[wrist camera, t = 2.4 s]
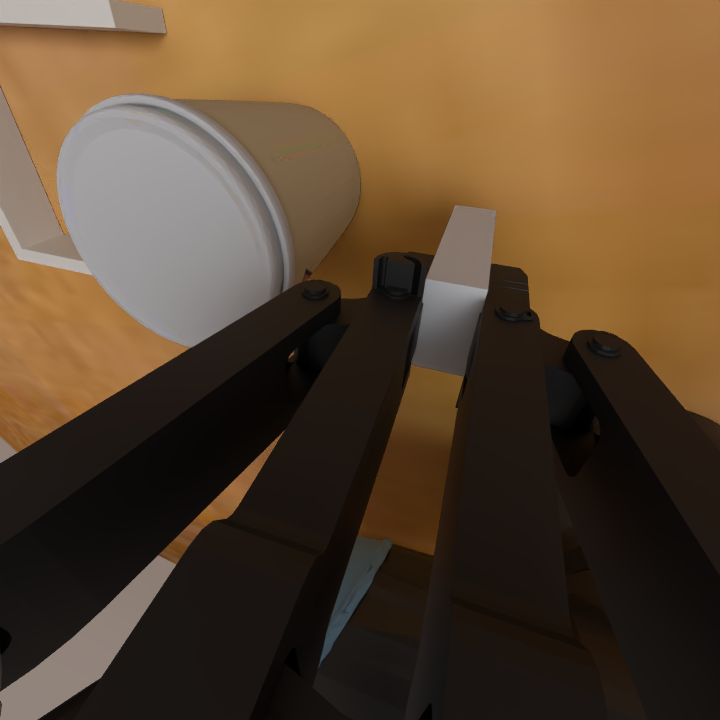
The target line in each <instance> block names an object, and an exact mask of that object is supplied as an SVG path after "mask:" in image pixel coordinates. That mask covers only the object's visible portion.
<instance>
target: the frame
mask: <svg viewBox="0 0 720 720" xmlns="http://www.w3.org/2000/svg"><path fill="white" fill-rule="evenodd" d="M0 26H19V27H40V28H60V29H81V30H102V31H122V32H143V33H164V34H167V33H166V28H165V23H164V18H163V13H162V9H161V8H156V7H150V6H145V5H139V4H134V3H128V2H123V1H117V0H0ZM0 225H1V227H2V229H3V231H4V233H5V235H6V237H7V239H8V241H9V243H10V244H11V246H12V248H13V250H14V252H15V254H16V256H17V258H18V259H19V260H24V261H29V262H33V263H38V264H43V265H48V266H52V267H57V268H62V269H66V270H71V271H76V272H80V273H85V274H90V275H92V273H91V272H90V270H89V269H88V267H87V266H86V264H85V263H84V261H83V259H82V258H81V256H80V254H79V253H78V251H77V249H76V247H75V245H74V243H73V241H72V239H71V236H70V235H67V234H63V232H62V230H61V227H60V225H59V223H58V220H57V218H56V216H55V213H54V211H53V209H52V206H51V204H50V202H49V199H48V197H47V195H46V192H45V190H44V188H43V185H42V183H41V181H40V178H39V176H38V174H37V171H36V169H35V167H34V164H33V162H32V160H31V157H30V155H29V153H28V150H27V148H26V146H25V143H24V141H23V139H22V136H21V134H20V132H19V129H18V127H17V125H16V122H15V120H14V118H13V115H12V113H11V111H10V108H9V106H8V104H7V101H6V99H5V97H4V94H3V92H2V90H1V87H0Z"/></svg>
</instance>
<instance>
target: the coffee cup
mask: <svg viewBox="0 0 720 720" xmlns="http://www.w3.org/2000/svg"><path fill="white" fill-rule="evenodd" d="M57 191H58V197H59V202H60V207H61V211H62V215H63V218H64V221H65V224H66V227H67V229H68V232H69V234H70V236H71V239H72V241H73V243H74V245H75V247H76V249H77V251H78V253H79V254H80V256H81V258H82V259H83V261H84V263H85V264H86V266H87V267H88V269H89V270H90V272H91V273H92V275H93V276H94V277H95V279H96V280H97V281H98V283H99V284H100V285H101V286H102V288H103V289H104V290H105V291H106V292H107V293H108V295H109V296H110V297H111V298H112V299H113V300H114V301H115V302H116V303H117V304H118V305H119V306H120V307H121V308H122V309H123V310H125V311H126V312H127V313H128V314H129V315H130V316H132V317H133V318H134V319H135V320H137V321H138V322H139V323H141V324H142V325H144V326H145V327H147V328H148V329H150V330H151V331H153V332H155V333H157V334H158V335H160V336H162V337H164V338H166V339H168V340H170V341H173V342H175V343H178V344H181V345H184V346H187V347H191V348H192V347H193V346H195V345H197V344H198V343H200V342H202V341H203V340H205V339H207V338H208V337H210V336H212V335H213V334H215V333H217V332H218V331H220V330H222V329H223V328H225V327H226V326H228V325H230V324H231V323H233V322H235V321H236V320H238V319H240V318H241V317H243V316H245V315H246V314H248V313H250V312H251V311H253V310H255V309H256V308H258V307H260V306H261V305H263V304H264V303H266V302H268V301H269V300H271V299H273V298H274V297H276V296H278V295H279V294H281V293H283V292H284V291H286V290H288V289H289V288H291V287H293V286H294V285H296V284H299V283H301V282H305V281H307V279H308V278H309V277H310V275H311V274H312V273H313V272H314V270H315V269H316V268H317V266H318V265H319V264H320V263H321V261H322V260H323V259H324V257H325V256H326V255H327V253H328V252H329V251H330V249H331V248H332V247H333V246H334V244H335V243H336V242H337V240H338V239H339V238H340V236H341V235H342V234H343V232H344V231H345V229H346V228H347V227H348V225H349V224H350V222H351V220H352V218H353V217H354V214H355V212H356V209H357V206H358V202H359V198H360V173H359V167H358V163H357V159H356V156H355V154H354V151H353V149H352V147H351V145H350V143H349V141H348V140H347V138H346V136H345V135H344V134H343V132H342V131H341V130H340V129H339V127H338V126H337V125H336V124H335V123H334V122H333V121H332V120H331V119H329V118H328V117H327V116H325V115H324V114H322V113H321V112H319V111H317V110H315V109H313V108H310V107H307V106H303V105H298V104H290V103H274V102H252V101H225V100H193V99H170V98H167V97H164V96H157V95H150V94H125V95H119V96H114V97H111V98H109V99H106V100H103V101H101V102H99V103H98V104H96V105H94V106H93V107H91V108H90V109H89V110H88V111H87V112H86V113H85V114H84V115H83V116H82V117H81V119H80V120H79V121H78V122H77V123H76V124H75V125H74V126H73V127H72V129H71V130H70V131H69V133H68V134H67V135H66V138H65V140H64V142H63V144H62V146H61V150H60V154H59V159H58V164H57Z"/></svg>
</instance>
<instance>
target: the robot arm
mask: <svg viewBox="0 0 720 720" xmlns="http://www.w3.org/2000/svg"><path fill="white" fill-rule="evenodd" d="M495 219H496V210H490V209H483V208H475V207H468V206H460V205H455V207H454V210H453V212H452V215H451V217H450V220H449V222H448V225H447V227H446V230H445V232H444V235H443V237H442V240H441V242H440V245H439V247H438V250H437V252H436V255H435V256H434V255H428V254H422V253H415V252H408V253H400V252H391V253H384V254H381V255H378V256H377V257H376V258H374V271H373V285H372V290H371V291H370V293H369V294H368V296H367V297H366V298H360V299H341V290H340V289H339V287H338V286H337V285H335V284H332V283H330V282H326V281H323V280H310V281H305V282H301V283H299V284H296V285H294V286H293V287H291V288H289V289H288V290H286V291H284V292H283V293H281V294H279V295H278V296H276V297H274V298H273V299H271V300H269V301H268V302H266V303H264V304H263V305H261V306H260V307H258V308H256V309H255V310H253V311H251V312H250V313H248V314H246V315H245V316H243V317H241V318H240V319H238V320H236V321H235V322H233V323H231V324H230V325H228V326H226V327H225V328H223V329H222V330H220V331H218V332H217V333H215V334H213V335H212V336H210V337H208V338H207V339H205V340H203V341H202V342H200V343H198V344H197V345H195V346H193V347H192V348H190V349H188V350H187V351H185V352H183V353H182V354H180V355H179V356H177V357H175V358H174V359H172V360H170V361H169V362H167V363H165V364H164V365H162V366H160V367H159V368H157V369H155V370H154V371H152V372H150V373H149V374H147V375H145V376H144V377H142V378H141V379H139V380H137V381H136V382H134V383H132V384H131V385H129V386H127V387H126V388H124V389H122V390H121V391H119V392H117V393H116V394H114V395H112V396H111V397H109V398H107V399H106V400H104V401H102V402H101V403H99V404H98V405H96V406H94V407H93V408H91V409H89V410H88V411H86V412H84V413H83V414H81V415H79V416H78V417H76V418H74V419H73V420H71V421H69V422H68V423H66V424H64V425H63V426H61V427H60V428H58V429H56V430H55V431H53V432H51V433H50V434H48V435H46V436H45V437H43V438H41V439H40V440H38V441H36V442H35V443H33V444H31V445H30V446H28V447H26V448H25V449H23V450H22V451H20V452H18V453H17V454H15V455H13V456H12V457H10V458H8V459H7V460H5V461H3V462H2V463H0V691H2V690H3V689H5V688H6V687H7V686H9V685H10V684H12V683H13V682H15V681H16V680H18V679H19V678H20V677H22V676H23V675H25V674H26V673H28V672H29V671H31V670H32V669H33V668H35V667H36V666H37V665H39V664H40V663H41V662H42V661H44V660H45V659H46V658H47V657H49V656H50V655H51V654H52V653H54V652H55V651H56V650H57V649H59V648H60V647H61V646H62V645H64V644H65V643H66V642H67V641H69V640H70V639H71V638H72V637H73V636H75V635H76V634H77V633H78V632H79V631H80V630H81V629H82V628H83V627H84V626H85V625H86V624H87V623H89V622H90V621H91V620H92V619H93V618H94V617H95V616H96V615H97V614H98V613H100V612H101V611H102V610H103V609H104V608H105V607H106V606H107V605H108V604H109V603H110V602H111V601H112V600H113V599H114V598H115V597H116V596H117V595H118V594H119V593H120V592H121V591H122V590H123V589H124V588H125V587H126V586H127V585H128V584H129V583H130V582H131V581H132V580H133V579H134V578H135V577H136V576H137V575H138V574H139V573H140V572H141V571H142V570H143V569H144V568H145V567H146V566H147V565H148V564H149V563H151V561H153V560H154V558H156V556H158V555H159V554H160V553H161V552H162V551H163V550H164V549H165V548H166V547H167V546H168V545H169V544H170V543H171V542H172V541H173V540H174V539H175V538H176V537H177V536H178V535H179V534H180V533H181V532H182V531H183V530H184V529H185V528H186V527H187V526H188V525H189V524H190V523H191V522H192V521H193V520H194V519H195V518H196V517H197V516H198V515H199V514H200V513H201V512H202V511H203V510H204V509H205V508H206V507H207V506H208V505H209V504H210V503H211V502H212V501H213V500H214V499H215V498H216V497H217V496H218V495H219V494H220V493H221V492H222V491H223V490H224V489H225V488H227V487H228V486H229V485H230V484H231V483H232V482H233V481H234V480H235V479H236V478H237V477H238V476H239V475H240V474H241V473H242V472H243V471H244V470H245V469H246V468H247V467H248V466H249V465H250V464H251V463H252V462H253V461H254V460H255V459H256V458H257V457H258V456H259V455H260V454H261V453H262V452H263V451H264V450H265V449H266V448H267V447H268V446H269V445H270V444H271V443H272V442H273V441H274V440H275V439H276V438H277V437H278V436H279V435H280V434H281V433H282V432H283V431H284V430H285V431H284V433H283V434H282V436H281V438H280V439H279V441H278V442H277V444H276V446H275V447H274V449H273V451H272V452H271V454H270V456H269V457H268V459H267V460H266V462H265V464H264V465H263V467H262V469H261V470H260V472H259V473H258V475H257V477H256V478H255V480H254V482H253V483H252V485H251V486H250V488H249V490H248V491H247V493H246V495H245V496H244V498H243V499H242V501H241V503H240V504H239V506H238V507H237V509H236V510H235V511H234V513H233V514H232V515H231V516H230V517H228V518H227V519H222V520H215V521H212V522H211V523H210V524H208V525H207V526H206V527H205V528H203V529H202V530H201V531H200V533H199V534H198V535H197V536H196V538H195V539H194V540H193V541H192V543H191V544H190V545H189V547H188V548H187V550H186V551H185V553H184V554H183V556H182V557H181V559H180V560H179V562H178V563H177V565H176V566H175V568H174V569H173V571H172V572H171V574H170V575H169V577H168V578H167V580H166V581H165V583H164V584H163V586H162V587H161V589H160V590H159V592H158V593H157V595H156V596H155V598H154V599H153V601H152V602H151V604H150V605H149V607H148V608H147V610H146V611H145V613H144V614H143V616H142V617H141V619H140V620H139V622H138V624H137V625H136V626H135V628H134V629H133V631H132V632H131V634H130V635H129V637H128V638H127V640H126V641H125V643H124V644H123V646H122V647H121V649H120V650H119V652H118V653H117V655H116V656H115V658H114V659H113V661H112V662H111V664H110V665H109V667H108V668H107V670H106V671H105V673H104V674H103V676H102V677H101V678H100V679H99V680H97V681H95V682H94V683H92V684H91V685H89V686H88V687H86V688H85V689H83V690H82V691H81V692H79V693H77V694H76V695H74V696H73V697H71V698H70V699H68V700H67V701H65V702H64V703H62V704H61V705H59V706H58V707H56V708H55V709H53V710H52V711H50V712H49V713H47V714H46V715H44V716H43V717H41V718H40V719H38V720H720V425H718V424H716V423H714V422H712V421H710V420H708V419H706V418H703V417H701V416H698V415H695V414H693V413H689V412H687V411H686V410H685V409H684V407H683V406H682V405H681V404H680V403H679V401H678V400H677V399H676V398H675V397H674V395H673V394H672V393H671V392H670V391H669V389H668V388H667V387H666V386H665V385H664V383H663V382H662V381H661V380H660V379H659V377H658V376H657V375H656V374H655V373H654V371H653V370H652V369H651V368H650V367H649V365H648V364H647V363H646V362H645V361H644V359H643V358H642V357H641V356H640V355H639V353H638V352H637V351H636V350H635V349H634V348H633V347H632V346H631V345H630V344H629V343H628V342H626V341H624V340H622V339H621V338H619V337H618V336H616V335H614V334H611V333H610V334H609V332H605V331H596V330H581V331H578V332H576V333H574V335H573V337H572V338H571V341H570V342H569V341H567V340H564V339H561V338H558V337H556V336H553V335H551V334H549V333H547V332H545V331H543V330H542V329H540V322H539V318H538V315H537V313H535V312H534V311H533V310H532V309H531V308H530V303H529V292H528V291H529V289H528V276H527V275H526V274H525V273H524V272H523V271H522V270H521V269H520V268H516V267H510V266H503V265H497V264H491V257H492V248H493V238H494V229H495ZM293 351H294V355H293V356H292V357H290V358H289V355H290V354H291V353H292V352H293ZM288 358H289V359H288ZM412 358H413V360H412ZM411 361H412V365H415V366H419V367H424V368H428V369H433V370H437V371H442V372H446V373H451V374H455V375H459V376H464V379H463V382H462V386H461V389H460V393H459V397H458V400H457V404H456V408H458V410H457V416H456V422H455V428H454V435H453V441H452V447H451V453H450V459H449V466H448V472H447V478H446V484H445V490H444V497H443V503H442V509H441V515H440V521H439V528H438V534H437V540H436V546H435V553H434V556H432V555H429V554H425V553H422V552H419V551H415V550H412V549H409V548H405V547H402V546H399V545H395V544H393V540H391V539H386V538H385V539H383V540H376V539H372V538H368V537H364V536H359V535H358V532H359V529H360V526H361V523H362V520H363V516H364V513H365V510H366V507H367V504H368V501H369V498H370V495H371V492H372V489H373V486H374V483H375V479H376V476H377V473H378V470H379V467H380V464H381V461H382V458H383V455H384V452H385V449H386V446H387V442H388V439H389V436H390V433H391V430H392V427H393V424H394V421H395V418H396V415H397V412H398V408H399V405H400V402H401V399H402V396H403V393H404V390H405V387H406V384H407V381H408V378H409V373H410V367H411ZM464 374H465V375H464ZM1 707H2V703H1V701H0V715H1Z"/></svg>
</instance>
